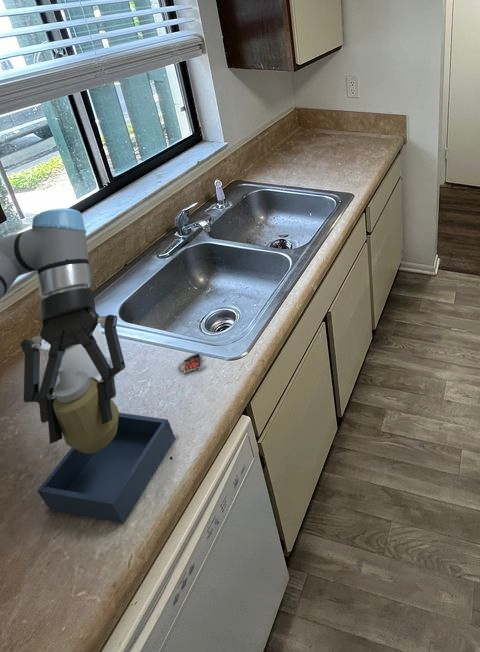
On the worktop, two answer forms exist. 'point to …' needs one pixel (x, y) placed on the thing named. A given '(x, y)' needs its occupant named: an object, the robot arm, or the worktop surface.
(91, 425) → the squeeze bottle
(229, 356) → the worktop surface
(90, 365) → the jar
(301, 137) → the worktop surface
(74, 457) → the bin
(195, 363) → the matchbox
